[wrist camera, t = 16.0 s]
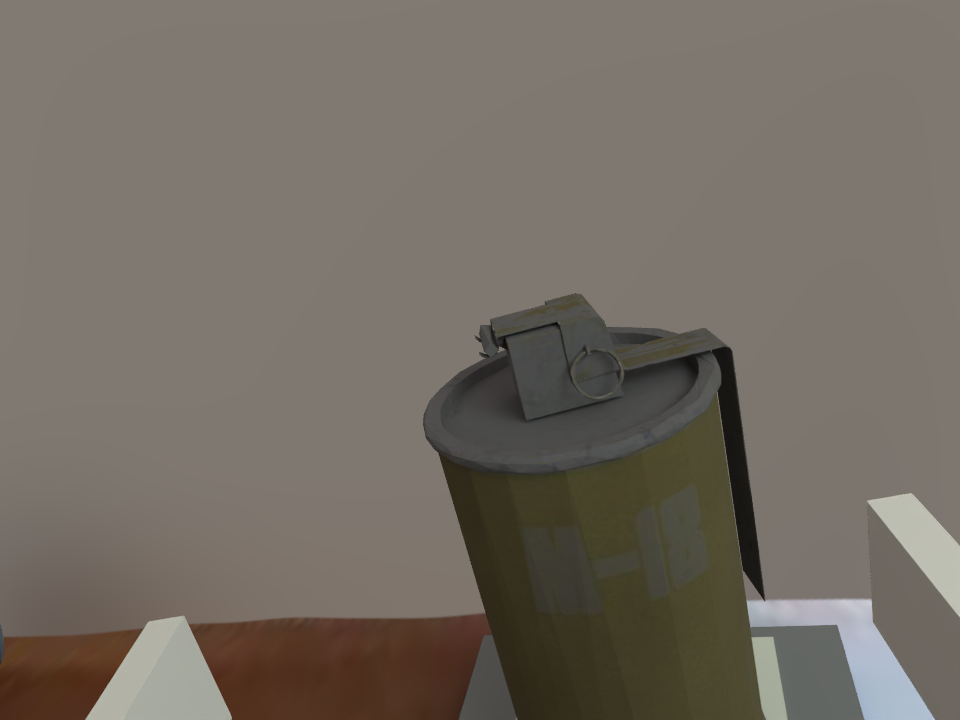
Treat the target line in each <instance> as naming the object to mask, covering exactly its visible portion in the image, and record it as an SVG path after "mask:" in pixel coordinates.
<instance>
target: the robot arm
mask: <svg viewBox="0 0 960 720" xmlns="http://www.w3.org/2000/svg"><path fill="white" fill-rule="evenodd" d="M867 516H868V535H869V554H870V573H871V590H872V591H871V592H872V611H873V623H874V624H875V626H876V627H877V629H878V630H879V632H880V634H881V635H882V637H883V638H884V640H885V641H886V643H887V645H888V646H889V648H890V649H891V651H892V652H893V654H894V655H895V657H896V659H897V660H898V662H899V663H900V665H901V666H902V668H903V670H904V671H905V673H906V674H907V676H908V677H909V679H910V681H911V682H912V684H913V685H914V687H915V688H916V690H917V692H918V693H919V695H920V696H921V698H922V699H923V701H924V703H925V704H926V706H927V707H928V709H929V710H930V712H931V714H932V715H933V717H934V718H935V720H960V546H959V545H958V544H957V542H956V541H955V540H954V539H953V538H952V537H951V536H950V535H949V534H948V532H947V531H945V529H944V528H943V527H942V526H941V525H940V524H939V523H938V522H937V520H935V518H934V517H933V516H932V515H931V514H930V513H929V512H928V511H927V509H925V507H924V506H923V505H922V504H921V503H920V502H919V501H918V500H917V499H916V497H915V496H914V495H913V494H912V493H910V494H904V495H898V496H893V497H886V498H880V499H874V500H868V501H867ZM3 654H4V638H3V634H2V629H1V626H0V664H1V661H2V658H3ZM231 719H232V717H231V714H230V712H229V710H228V708H227V706H226V704H225V702H224V700H223V698H222V695H221V693H220V691H219V689H218V687H217V685H216V683H215V681H214V678H213V676H212V674H211V672H210V670H209V668H208V666H207V664H206V661H205V659H204V657H203V655H202V653H201V651H200V649H199V647H198V644H197V642H196V640H195V638H194V636H193V634H192V632H191V630H190V627H189V625H188V623H187V621H186V619H185V617H184V616H179V617H173V618H168V619H161V620H155V621H149V622H148V623H147V625H146V626H145V628H144V630H143V631H142V633H141V634H140V636H139V637H138V639H137V640H136V642H135V644H134V645H133V647H132V648H131V650H130V651H129V653H128V654H127V656H126V658H125V659H124V661H123V662H122V664H121V665H120V667H119V668H118V670H117V672H116V673H115V675H114V676H113V678H112V679H111V681H110V682H109V684H108V686H107V687H106V689H105V690H104V692H103V693H102V695H101V696H100V698H99V700H98V701H97V703H96V704H95V706H94V707H93V709H92V710H91V712H90V714H89V715H88V717H87V718H86V720H231Z"/></svg>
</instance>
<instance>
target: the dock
mask: <svg viewBox="0 0 960 720" xmlns="http://www.w3.org/2000/svg"><path fill="white" fill-rule="evenodd" d="M750 630H751V637H752V644H753V651H754V658H755V665H756V672H757V679H758V686H759V693H760V700H761V707H762V711H763V713H764V716H765V718H766V720H864V717H863V714H862V710H861V707H860V703H859V700H858V696H857V693H856V689H855V686H854V682H853V679H852V675H851V672H850V668H849V665H848V661H847V658H846V654H845V651H844V647H843V644H842V640H841V637H840V633H839V630H838V626H837V625H820V626H785V627H750ZM459 720H517V717H516V714H515V711H514V707H513V704H512V700H511V697H510V694H509V690H508V687H507V683H506V680H505V677H504V673H503V670H502V667H501V663H500V660H499V656H498V653H497V650H496V646H495V643H494V639H493V636H492V635H484V637H483V640H482V643H481V647H480V650H479V653H478V657H477V660H476V663H475V667H474V670H473V673H472V677H471V680H470V683H469V687H468V690H467V693H466V697H465V700H464V703H463V707H462V710H461V713H460V717H459Z"/></svg>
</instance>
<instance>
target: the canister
mask: <svg viewBox="0 0 960 720" xmlns="http://www.w3.org/2000/svg"><path fill="white" fill-rule="evenodd" d="M490 322H491V325H481V326H480V332H479V335H480V338H481V339H480V338H478V337H477V336H475V338H476V339H477V340H478V341H479V342H482V346H483V349H484V352H485V353H486V354H483V353H481V352H479V353H480V355H481V356H482V357H484V358H485V359H483V360H481V361H479V362H478V363H476V364H474V365H472V366H470V367H468V368H467V369H465V370H463V371H461V372H459V373H458V374H457V375H456V376H455V377H453V378H452V379H451V380H450V381H449V382H448V383H447V384H446V385H445V386H443V387H442V388H441V389H440V390H439V391H438V392H437V393H436V394H435V396H434V397H433V398H432V399H431V400H430V402H429V404H428V406H427V409H426V411H425V413H424V419H423V426H424V431H425V435H426V439H427V440H428V441H429V443H430V444H431V445H432V447H433V448H434V449H435V450H436V451H437V452H438V453H439V456H440V460H441V463H442V467H443V470H444V473H445V477H446V480H447V484H448V487H449V490H450V494H451V497H452V500H453V504H454V507H455V511H456V514H457V517H458V521H459V524H460V528H461V531H462V534H463V538H464V541H465V544H466V548H467V551H468V555H469V558H470V561H471V565H472V568H473V572H474V575H475V578H476V582H477V585H478V589H479V592H480V595H481V599H482V602H483V605H484V609H485V612H486V616H487V619H488V622H489V626H490V629H491V633H492V636H493V639H494V643H495V646H496V650H497V653H498V656H499V660H500V663H501V667H502V670H503V673H504V677H505V680H506V683H507V687H508V690H509V694H510V697H511V700H512V704H513V707H514V711H515V714H516V717H517V720H766V718H765V716H764V713H763V711H762V707H761V700H760V693H759V686H758V679H757V672H756V665H755V658H754V651H753V644H752V637H751V630H750V623H749V616H748V609H747V602H746V595H745V588H744V582H743V574H742V567H741V560H742V566H743V571H744V572H745V573H746V575H747V576H748V578H749V579H750V581H751V582H752V584H753V585H754V586H755V588H756V589H757V591H758V592H759V594H760V595H761V597H762V598H763V599H764V601H765V594H764V587H763V579H762V572H761V564H760V557H759V549H758V541H757V534H756V526H755V519H754V512H753V503H752V496H751V488H750V480H749V473H748V466H747V458H746V450H745V443H744V435H743V427H742V420H741V412H740V405H739V397H738V389H737V382H736V374H735V367H734V360H733V352H732V350H731V349H730V347H728V346H727V345H726V344H725V343H723V342H722V341H721V340H720V339H718V338H717V337H715V335H713V334H712V333H711V332H710V331H708V330H707V329H705V328H702V329H698V330H694V331H690V332H686V333H681V334H677V333H673V332H669V331H666V330H662V329H653V328H631V327H606V325H605V322H604V320H603V319H602V318H601V317H600V316H599V315H598V313H597V312H596V311H595V310H594V309H593V307H592V306H591V305H590V304H589V303H588V302H587V300H586V299H585V298H584V297H583V296H582V295H581V294H576V293H575V294H571V295H568V296H564V297H560V298H556V299H552V300H549V301H545V305H543V306H539V307H535V308H531V309H527V310H524V311H520V312H516V313H512V314H508V315H504V316H501V317H497V318H493V319H491V320H490ZM492 325H493V328H494V330H493V328H492ZM491 328H492V329H491ZM499 346H500V347H502V348H504V349H506V350H504V351H501V352H499V353H497V352H498V351H499V350H498V349H499ZM710 350H712V352H711V351H710ZM717 391H718V397H719V405H720V412H721V419H722V426H723V433H724V440H725V447H726V454H727V461H728V468H729V475H730V482H731V489H732V497H733V504H734V510H735V518H736V525H737V531H738V539H739V546H740V553H741V560H740V554H739V546H738V539H737V532H736V526H735V518H734V512H733V505H732V498H731V491H730V484H729V476H728V469H727V462H726V455H725V449H724V442H723V434H722V428H721V422H720V414H719V407H718V400H717Z"/></svg>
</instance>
